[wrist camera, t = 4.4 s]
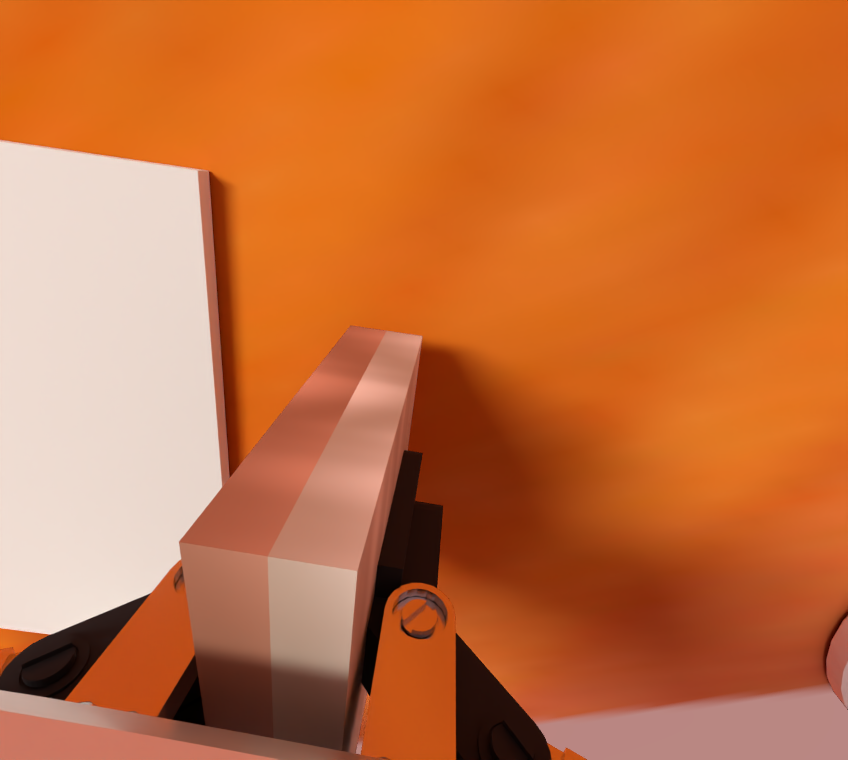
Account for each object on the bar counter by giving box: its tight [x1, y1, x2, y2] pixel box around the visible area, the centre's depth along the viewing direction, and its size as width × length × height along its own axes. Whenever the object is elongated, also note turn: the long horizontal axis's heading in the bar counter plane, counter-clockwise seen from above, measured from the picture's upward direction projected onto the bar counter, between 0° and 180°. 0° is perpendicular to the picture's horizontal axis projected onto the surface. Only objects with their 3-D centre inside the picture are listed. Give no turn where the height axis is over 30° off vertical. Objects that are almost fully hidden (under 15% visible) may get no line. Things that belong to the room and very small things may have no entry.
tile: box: [179, 326, 423, 754], centre depth 10 cm, size 2×8×8 cm, turn 173°
